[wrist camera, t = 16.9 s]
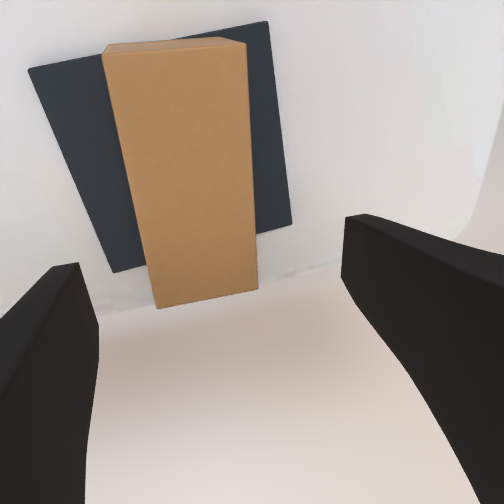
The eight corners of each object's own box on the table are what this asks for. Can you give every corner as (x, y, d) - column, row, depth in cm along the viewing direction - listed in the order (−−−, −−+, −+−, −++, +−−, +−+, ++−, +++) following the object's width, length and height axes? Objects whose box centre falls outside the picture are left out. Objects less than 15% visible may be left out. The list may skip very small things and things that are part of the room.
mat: (113, 268, 22) (113, 273, 21) (29, 68, 16) (26, 69, 16) (289, 220, 23) (292, 224, 23) (265, 20, 18) (268, 20, 17)
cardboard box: (236, 242, 22) (259, 289, 18) (151, 257, 21) (156, 310, 18) (220, 36, 17) (246, 42, 13) (106, 44, 16) (100, 53, 12)
